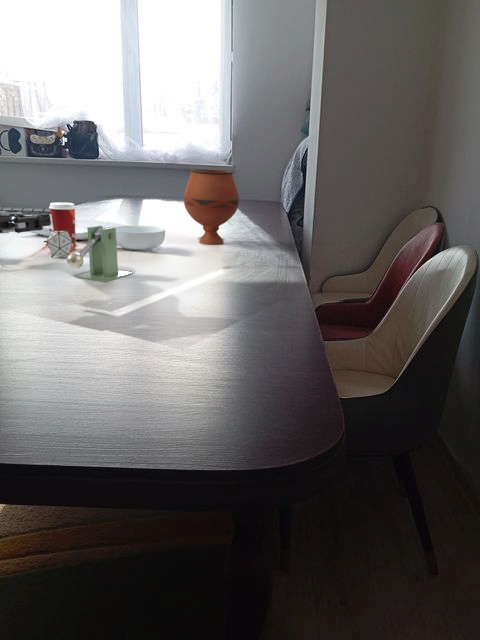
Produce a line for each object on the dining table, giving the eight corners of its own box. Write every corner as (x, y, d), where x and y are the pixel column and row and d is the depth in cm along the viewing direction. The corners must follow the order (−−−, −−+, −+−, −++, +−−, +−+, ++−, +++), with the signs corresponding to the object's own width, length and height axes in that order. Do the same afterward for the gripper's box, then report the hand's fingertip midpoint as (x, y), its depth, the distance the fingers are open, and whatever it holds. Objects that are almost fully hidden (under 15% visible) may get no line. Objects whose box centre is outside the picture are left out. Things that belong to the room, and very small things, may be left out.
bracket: (105, 286, 122) (102, 231, 118) (75, 281, 125) (70, 227, 121) (132, 277, 132) (130, 226, 127) (104, 272, 135) (101, 223, 130)
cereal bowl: (175, 250, 169) (175, 228, 166) (142, 258, 155) (141, 234, 152) (135, 244, 176) (134, 222, 173) (100, 250, 162) (98, 227, 159)
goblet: (175, 244, 180) (174, 168, 171) (196, 236, 197) (196, 168, 188) (227, 249, 175) (229, 172, 166) (243, 241, 193) (246, 171, 184)
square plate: (131, 234, 193) (131, 224, 192) (79, 244, 170) (78, 232, 169) (75, 226, 203) (75, 216, 202) (19, 235, 180) (18, 223, 178)
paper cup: (83, 250, 160) (80, 204, 155) (59, 252, 155) (55, 205, 150) (72, 246, 165) (68, 201, 160) (48, 248, 160) (43, 202, 155)
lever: (79, 272, 117) (73, 259, 115) (66, 270, 118) (61, 257, 116) (113, 238, 126) (109, 226, 124) (101, 237, 127) (96, 224, 125)
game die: (66, 268, 153) (83, 239, 155) (65, 263, 145) (82, 233, 147) (38, 252, 151) (55, 223, 152) (34, 247, 143) (52, 216, 144)
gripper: (-11, 206, 86) (58, 201, 100) (-71, 200, 91) (4, 195, 105) (-5, 251, 89) (62, 239, 103) (-64, 242, 94) (8, 232, 108)
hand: (32, 217), depth 104 cm, fingers open, 8 cm apart
